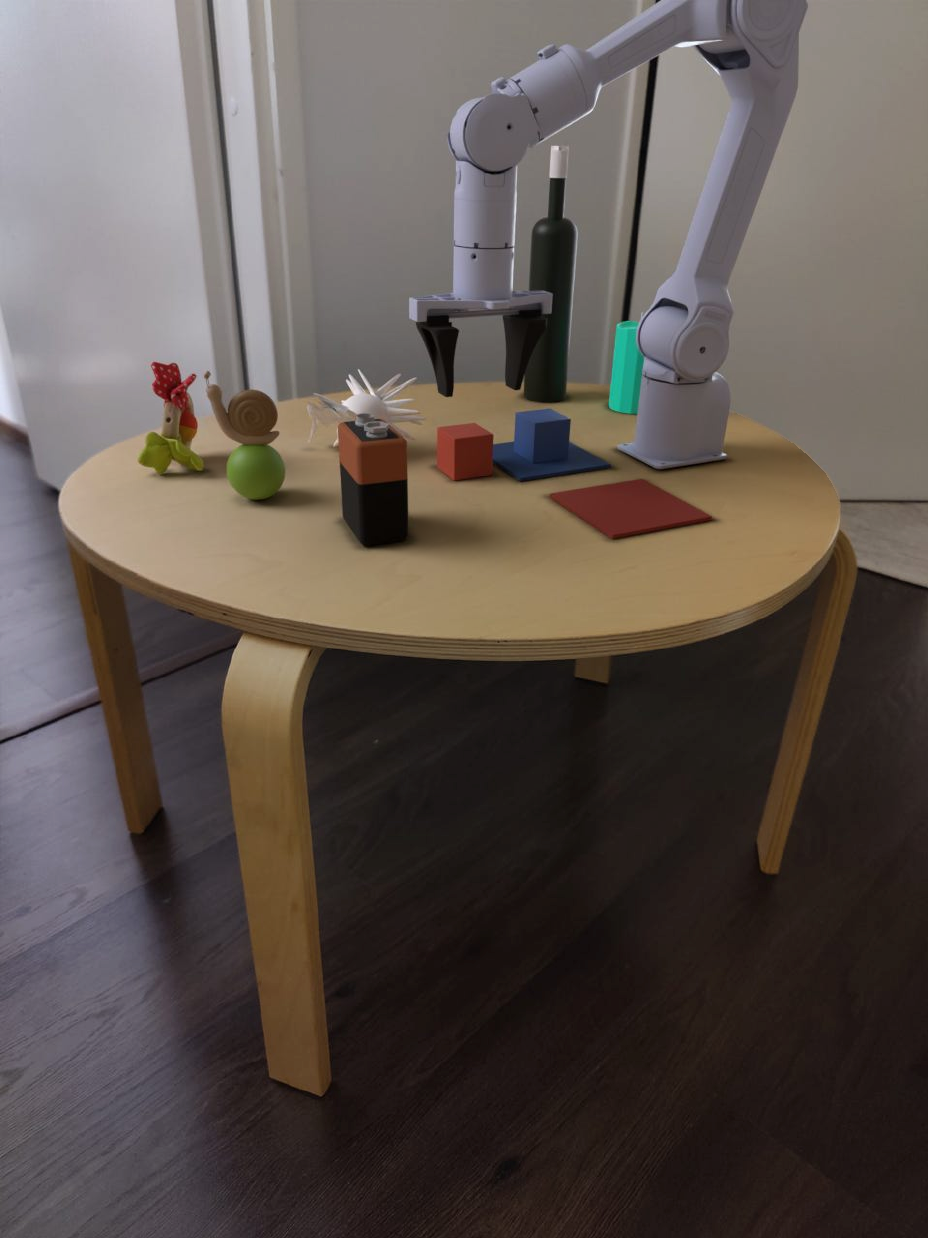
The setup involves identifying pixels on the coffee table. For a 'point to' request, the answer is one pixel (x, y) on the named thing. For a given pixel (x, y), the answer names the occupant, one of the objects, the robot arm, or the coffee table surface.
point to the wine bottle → (553, 288)
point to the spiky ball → (365, 407)
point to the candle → (626, 370)
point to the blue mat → (544, 463)
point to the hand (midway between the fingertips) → (479, 391)
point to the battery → (373, 480)
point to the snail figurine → (250, 441)
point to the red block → (464, 451)
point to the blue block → (541, 435)
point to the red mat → (629, 508)
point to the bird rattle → (172, 422)
